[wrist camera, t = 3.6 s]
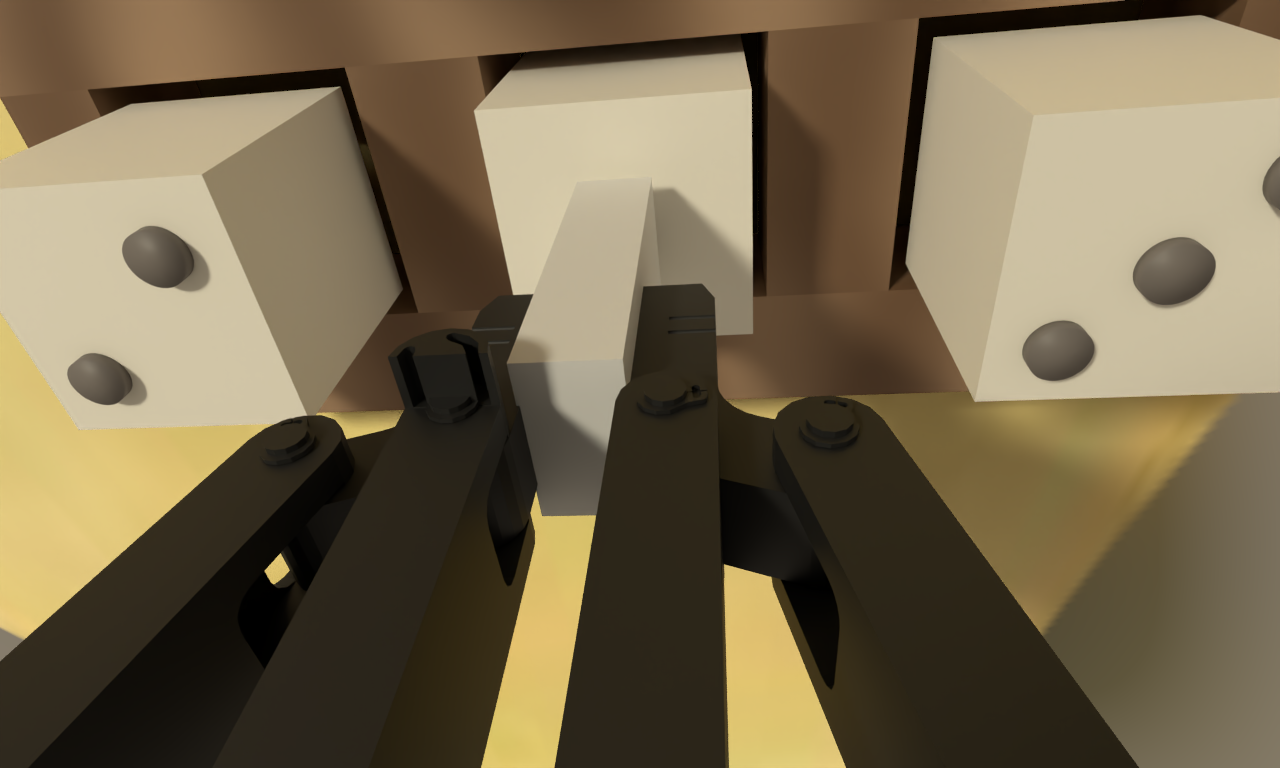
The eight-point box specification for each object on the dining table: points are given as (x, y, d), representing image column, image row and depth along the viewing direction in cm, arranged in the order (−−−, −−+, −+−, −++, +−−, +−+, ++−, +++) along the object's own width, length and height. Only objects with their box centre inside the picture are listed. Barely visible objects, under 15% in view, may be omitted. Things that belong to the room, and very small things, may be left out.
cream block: (563, 242, 23) (522, 355, 18) (531, 46, 19) (470, 115, 14) (741, 232, 22) (753, 346, 17) (739, 28, 19) (752, 93, 14)
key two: (224, 302, 21) (73, 443, 16) (131, 103, 18) (-93, 200, 13) (404, 294, 21) (306, 437, 16) (340, 87, 18) (191, 180, 12)
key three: (904, 268, 19) (977, 417, 14) (933, 36, 16) (1041, 121, 11) (1125, 257, 19) (1286, 408, 14) (1201, 14, 16) (1446, 92, 10)
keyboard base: (243, 348, 27) (179, 417, 23) (44, -77, 19) (-91, -63, 16) (1137, 309, 23) (1208, 383, 20) (1313, -220, 16) (1471, -241, 13)
